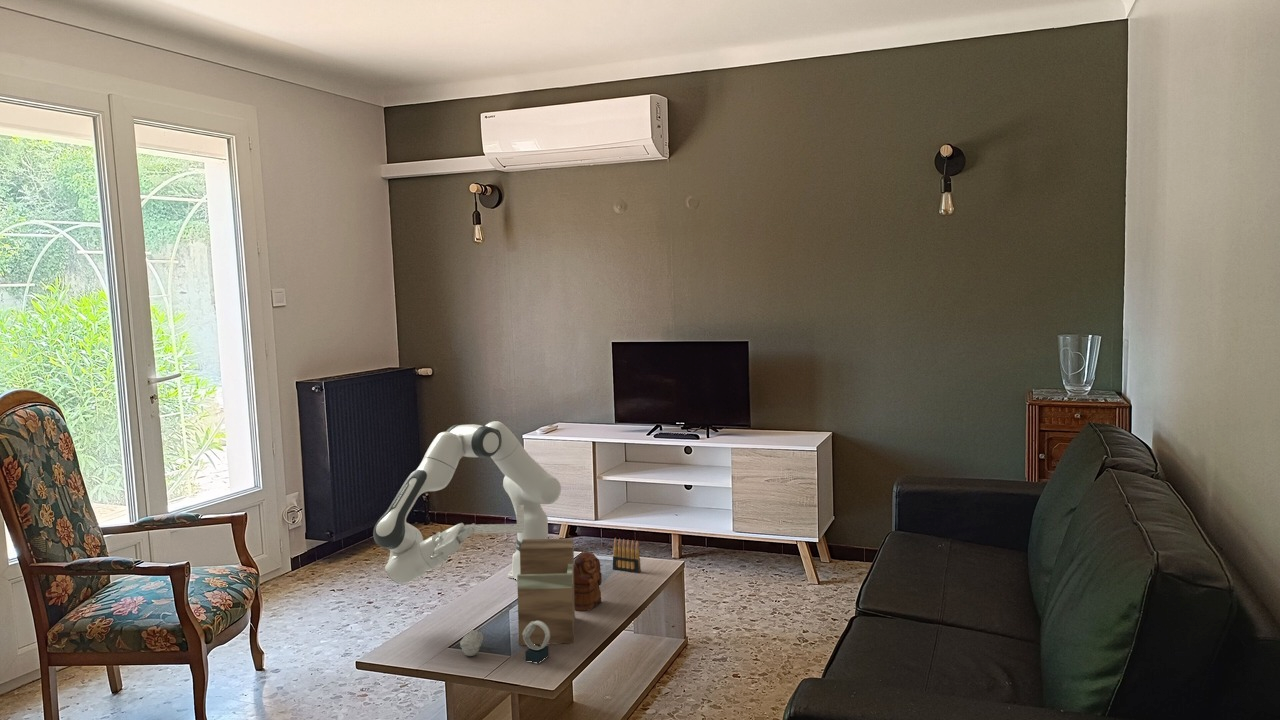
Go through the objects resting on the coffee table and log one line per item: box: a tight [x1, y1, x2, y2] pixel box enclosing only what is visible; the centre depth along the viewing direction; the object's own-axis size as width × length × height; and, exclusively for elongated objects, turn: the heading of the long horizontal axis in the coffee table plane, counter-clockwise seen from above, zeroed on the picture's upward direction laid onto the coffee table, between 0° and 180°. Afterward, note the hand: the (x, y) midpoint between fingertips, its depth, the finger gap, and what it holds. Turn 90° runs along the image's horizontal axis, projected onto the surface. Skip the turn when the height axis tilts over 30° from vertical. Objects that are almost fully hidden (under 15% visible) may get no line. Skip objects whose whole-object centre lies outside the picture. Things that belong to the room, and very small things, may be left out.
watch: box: [522, 620, 550, 663], centre depth 250 cm, size 6×8×11 cm
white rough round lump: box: [459, 629, 484, 657], centre depth 254 cm, size 6×7×7 cm
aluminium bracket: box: [464, 505, 524, 535], centre depth 272 cm, size 3×18×8 cm, turn 93°
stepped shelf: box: [516, 537, 576, 646], centre depth 270 cm, size 20×16×26 cm
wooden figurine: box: [574, 551, 603, 611], centre depth 291 cm, size 12×6×18 cm, turn 148°
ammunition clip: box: [612, 537, 642, 574], centre depth 325 cm, size 11×2×12 cm, turn 67°
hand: (474, 527), depth 272 cm, fingers closed on aluminium bracket, 3 cm apart
